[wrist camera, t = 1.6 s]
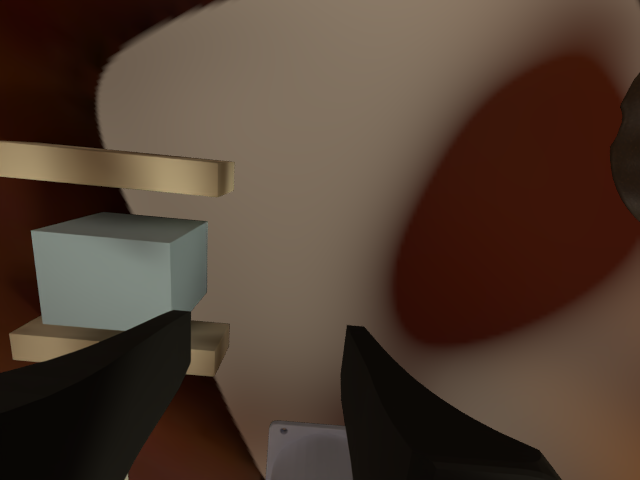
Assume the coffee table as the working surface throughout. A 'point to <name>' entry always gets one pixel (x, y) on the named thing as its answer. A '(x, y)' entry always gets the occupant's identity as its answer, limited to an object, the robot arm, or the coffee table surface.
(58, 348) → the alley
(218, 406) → the coffee table surface
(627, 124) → the plant pot
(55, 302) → the block
